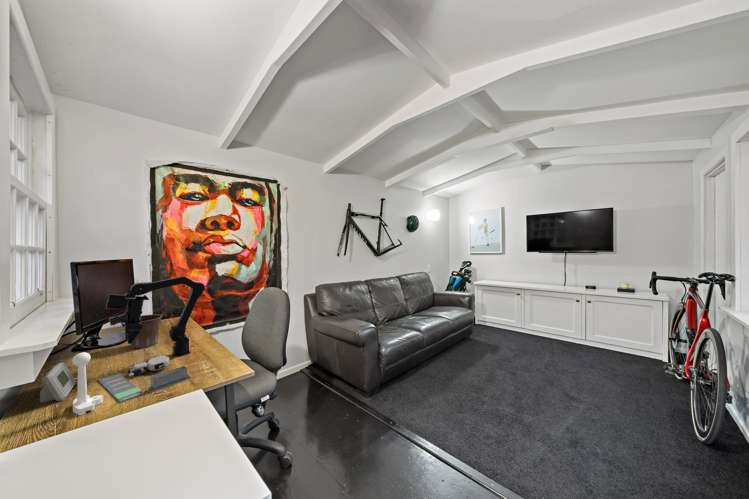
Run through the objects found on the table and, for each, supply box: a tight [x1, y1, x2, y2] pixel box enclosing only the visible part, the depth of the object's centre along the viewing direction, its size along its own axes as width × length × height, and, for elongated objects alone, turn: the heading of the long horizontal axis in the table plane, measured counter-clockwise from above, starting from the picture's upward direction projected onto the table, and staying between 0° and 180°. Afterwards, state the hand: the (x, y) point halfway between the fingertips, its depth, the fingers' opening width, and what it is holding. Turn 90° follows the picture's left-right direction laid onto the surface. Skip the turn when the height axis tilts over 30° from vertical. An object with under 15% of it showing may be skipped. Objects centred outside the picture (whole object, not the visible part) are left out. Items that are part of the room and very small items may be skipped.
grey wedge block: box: [147, 365, 191, 393], centre depth 115 cm, size 14×4×5 cm, turn 147°
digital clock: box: [39, 362, 76, 403], centre depth 107 cm, size 16×9×11 cm, turn 26°
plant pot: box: [130, 314, 163, 349], centre depth 160 cm, size 16×16×16 cm
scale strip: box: [97, 372, 145, 404], centre depth 112 cm, size 7×31×1 cm, turn 57°
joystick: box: [72, 352, 104, 416], centre depth 99 cm, size 11×8×20 cm
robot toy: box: [127, 354, 170, 377], centre depth 127 cm, size 12×4×15 cm
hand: (128, 341), depth 132 cm, fingers open, 9 cm apart
